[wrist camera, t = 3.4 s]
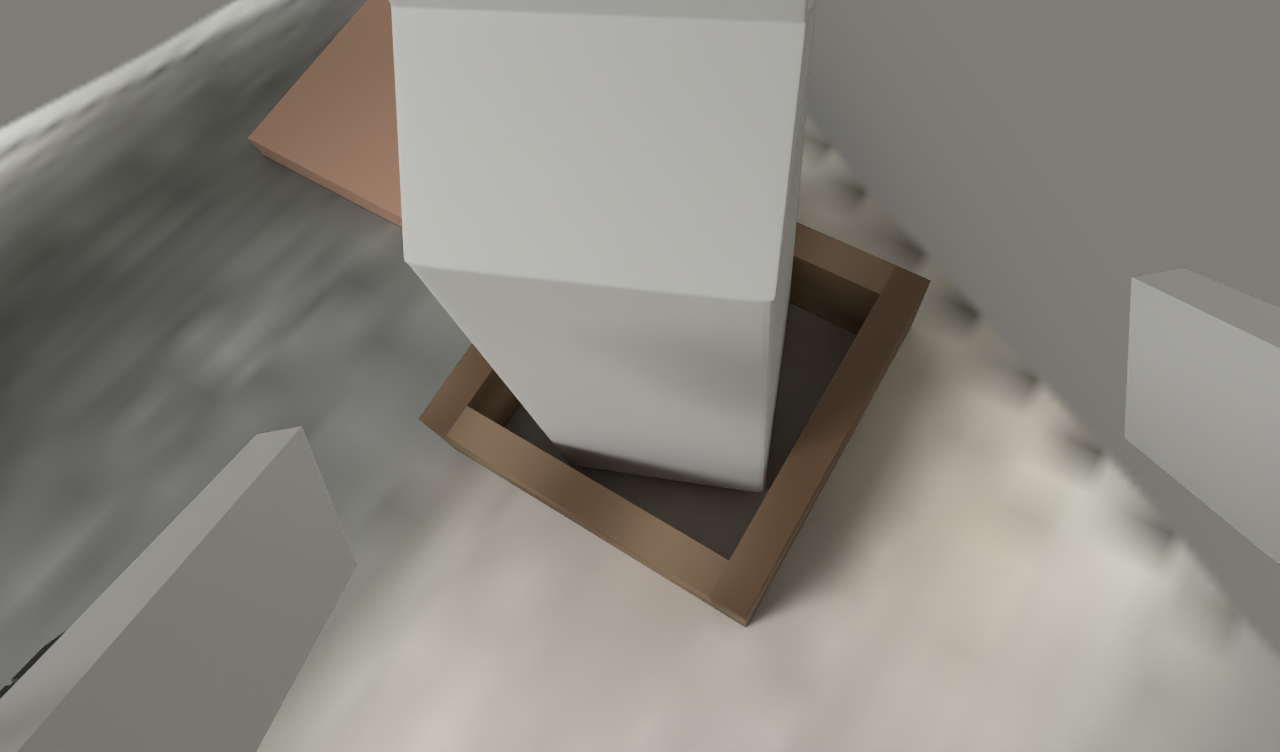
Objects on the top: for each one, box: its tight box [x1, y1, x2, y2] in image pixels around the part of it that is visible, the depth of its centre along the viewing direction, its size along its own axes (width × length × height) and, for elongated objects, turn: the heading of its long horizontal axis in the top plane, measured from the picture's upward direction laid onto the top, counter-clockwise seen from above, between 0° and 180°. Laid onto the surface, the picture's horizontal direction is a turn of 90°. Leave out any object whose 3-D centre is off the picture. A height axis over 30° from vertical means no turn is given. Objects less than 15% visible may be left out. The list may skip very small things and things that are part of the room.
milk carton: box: [389, 0, 816, 492], centre depth 21 cm, size 7×7×19 cm
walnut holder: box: [419, 222, 930, 627], centre depth 28 cm, size 12×12×4 cm
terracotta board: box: [248, 0, 402, 227], centre depth 36 cm, size 13×13×1 cm
